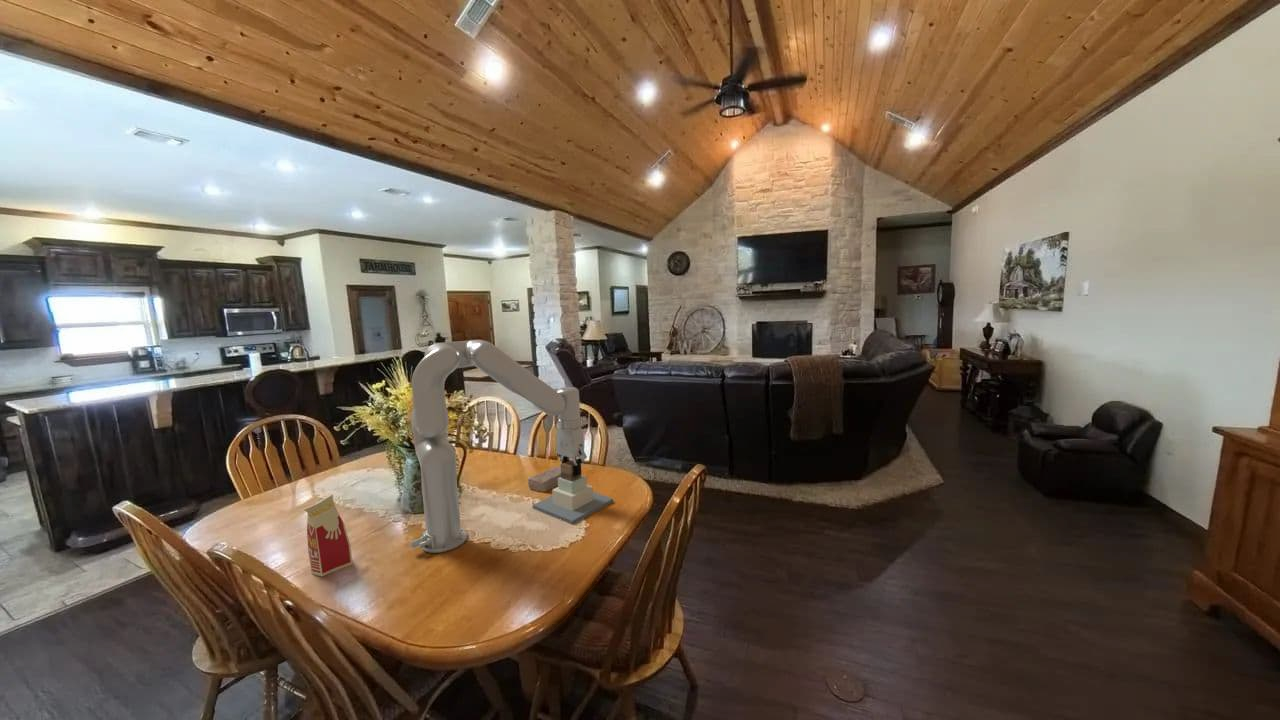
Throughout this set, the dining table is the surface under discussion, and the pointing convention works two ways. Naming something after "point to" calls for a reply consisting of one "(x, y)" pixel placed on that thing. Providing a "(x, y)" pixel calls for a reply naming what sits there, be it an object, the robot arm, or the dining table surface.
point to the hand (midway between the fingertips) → (571, 473)
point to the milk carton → (327, 538)
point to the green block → (572, 484)
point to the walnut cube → (568, 471)
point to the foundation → (572, 504)
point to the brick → (545, 479)
